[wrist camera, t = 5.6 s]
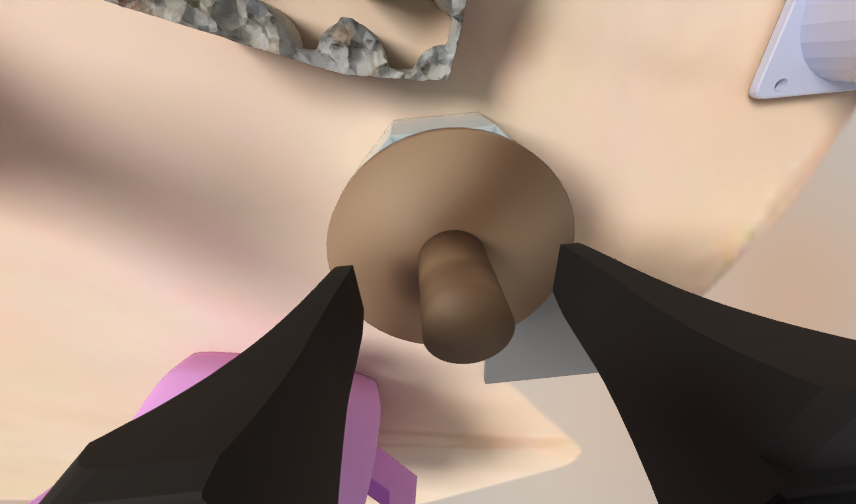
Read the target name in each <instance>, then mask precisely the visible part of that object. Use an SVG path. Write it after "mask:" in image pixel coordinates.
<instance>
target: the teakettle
mask: <svg viewBox="0 0 856 504" xmlns="http://www.w3.org/2000/svg"><path fill="white" fill-rule="evenodd" d="M238 355H239V354H238V353H225V352H198V353H194V354H192V355H191V356H189V357H188V358H186V359H185V360H183V361H182V362H181V363H180V364H178V365H177V366H176V367H174V368H173V369H172V370H171V371H169V372H168V373H167V374H166V375H165V376H164V377H163V378H162V379H161V380H160V382H159V383H158V384H157V386H156V387H155V388H154V389H153V391H152V392H151V393H150V395H149V396H148V398H147V399H146V401H145V402H144V404H143V405H142V406H141V408H140V409H139V411H138V412H137V414H136V415H135V417H134V418H133V420H134V419H136V418H138V417H140V416H141V415H143V414H145V413H147V412H149V411H151V410H153V409H154V408H156V407H158V406H160V405H161V404H163V403H165V402H167V401H168V400H170V399H172V398H173V397H175V396H177V395H178V394H180V393H182V392H183V391H185V390H187V389H188V388H190V387H192V386H193V385H195V384H196V383H198V382H200V381H201V380H203V379H204V378H206V377H207V376H209V375H211V374H212V373H213V372H215V371H216V370H218V369H219V368H221V367H222V366H224V365H225V364H226V363H228V362H229V361H231V360H232V359H234V358H235V357H237V356H238ZM380 419H381V403H380V396H379V392H378V387H377V384H376V382H375V381H374V380H373V379H371V378H370V377H367V376H364V375H361V374H358V373H354V377H353V382H352V386H351V391H350V396H349V402H348V407H347V415H346V424H345V433H344V443H343V453H342V464H341V474H340V487H339V500H338V504H365V502H366V498H367V494H368V495H369V496H370V497H372V498H373V499H374V500H376V501H377V502H378V503H380V504H415V498H416V482H417V476H416V475H414V474H413V473H412V472H411V471H409V470H408V469H407V468H405V467H404V466H403V465H401V464H400V463H399V462H398V461H396V460H395V459H394V458H392V457H391V456H390V455H389V454H387V453H386V452H385V451H383V450H382V449H381V448H379V447H378V446H377V444H378V437H379V429H380ZM52 487H53V486H52ZM52 487H51V488H52ZM51 488H50V489H51ZM50 489H48V490H47V491H45V492H44V493H42V494H41V495H40V496H38V497H37V498H35V499H34V500H33V501H31V502H30V503H28V504H39V502H40V501H41V500H42V499H43V498H44V496H45V495H46V494H47V493H48V492H49V490H50Z"/></svg>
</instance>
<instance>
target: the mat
mask: <svg viewBox="0 0 856 504" xmlns="http://www.w3.org/2000/svg"><path fill="white" fill-rule="evenodd" d="M588 373H598V371H597V369H596V367H595V366H594V364H593V363H592V361H591V359H590V358H589V356H588V355H587V353H586V351H585V350H584V348H583V347H582V345H581V343H580V342H579V340H578V339H577V337H576V336H575V334H574V332H573V331H572V329H571V327H570V326H569V324H568V323H567V321H566V319H565V318H564V316H563V314H562V312H561V310H560V308H559V305H558V303H557V301H556V298H555V296H554V294H553V292H552V293H551V295H550V296H549V297H548V298H547V299H546V301H545V302H544V303H543V304H542V305H541V306H540V307H539V308H538V309H536V310H535V311H534V312H533V313H532V314H531V315H529V316H528V317H527V318H525V319H524V320H522V321H521V322H519V323H518V324H516V325H515V332H514V335H513V337H512V339H511V341H510V342H509V344H508V345H507V346H506V347H505V348H504V349H503V350H502V351H501V352H499V353H498V354H496V355H495V356H493V357H491V358H488V359H486V360H485V370H484V380H485V384H490V383H500V382H509V381H519V380H528V379H539V378H549V377H558V376H568V375H578V374H588Z"/></svg>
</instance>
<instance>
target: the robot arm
mask: <svg viewBox="0 0 856 504" xmlns="http://www.w3.org/2000/svg"><path fill="white" fill-rule="evenodd" d="M777 82H778V84H777V86H776V87H775V85H776V83H777ZM774 87H775V88H774ZM853 90H856V0H786V3H785V5H784V8H783V10H782V12H781V15H780V17H779V20H778V22H777V24H776V27H775V29H774V32H773V34H772V36H771V39H770V41H769V44H768V46H767V48H766V51H765V53H764V56H763V58H762V60H761V63H760V65H759V68H758V70H757V72H756V75H755V77H754V80H753V82H752V84H751V87H750V91H749V93H750V96H751V97H752V98H756V99H769V98H780V97H790V96H801V95H811V94H822V93H832V92H843V91H853ZM552 291H553V294H554V296H555V298H556V301H557V303H558V305H559V308H560V310H561V312H562V314H563V316H564V318H565V319H566V321H567V323H568V324H569V326H570V327H571V329H572V331H573V332H574V334H575V336H576V337H577V339H578V340H579V342H580V343H581V345H582V347H583V348H584V350H585V351H586V353H587V355H588V356H589V358H590V359H591V361H592V363H593V364H594V366H595V367H596V369H597V371H598V372H599V374H600V376H601V378H602V379H603V381H604V383H605V385H606V387H607V389H608V391H609V393H610V395H611V397H612V398H613V401H614V403H615V405H616V407H617V409H618V411H619V413H620V415H621V417H622V420H623V422H624V424H625V426H626V428H627V431H628V432H629V435H630V437H631V439H632V441H633V444H634V446H635V448H636V451H637V453H638V455H639V458H640V460H641V462H642V465H643V467H644V469H645V472H646V474H647V476H648V479H649V481H650V483H651V486H652V489H653V491H654V494H655V496H656V499H657V501H658V504H856V340H853V339H848V338H844V337H839V336H835V335H831V334H827V333H823V332H819V331H815V330H811V329H807V328H802V327H799V326H795V325H791V324H787V323H784V322H780V321H776V320H773V319H769V318H766V317H762V316H759V315H756V314H752V313H749V312H745V311H742V310H739V309H736V308H732V307H729V306H727V305H723V304H720V303H718V302H715V301H712V300H709V299H706V298H704V297H701V296H698V295H695V294H692V293H690V292H687V291H685V290H682V289H680V288H677V287H675V286H672V285H670V284H668V283H665V282H663V281H660V280H658V279H656V278H653V277H651V276H649V275H647V274H645V273H642V272H640V271H638V270H636V269H634V268H632V267H630V266H627V265H625V264H623V263H621V262H619V261H617V260H615V259H613V258H611V257H609V256H607V255H605V254H603V253H601V252H598V251H596V250H594V249H592V248H590V247H588V246H585V245H583V244H580V243H570V244H560V249H559V255H558V261H557V267H556V273H555V278H554V284H553V290H552ZM363 321H364V307H363V303H362V299H361V295H360V291H359V287H358V283H357V279H356V275H355V271H354V267H353V265H347V266H337V267H335V268H334V269H332V270H331V271H330V273H329V274H328V275H327V276H326V277H325V278H324V279H323V280H322V281H321V282H320V283H319V284H318V285H317V286H316V287H315V288H314V289H313V290H312V291H311V292H310V294H309V295H308V296H307V297H306V298H305V299H304V300H303V301H302V302H301V303H300V304H299V305H298V306H297V307H295V308H294V309H293V310H292V311H291V312H290V313H289V314H288V315H287V316H286V317H285V318H284V319H283V320H282V321H280V322H279V323H278V324H277V325H276V326H275V327H274V328H273V329H271V330H270V331H269V332H268V333H267V334H265V335H264V336H263V337H262V338H260V339H259V340H258V341H257V342H255V343H254V344H253V345H252V346H250V347H249V348H248V349H246V350H245V351H244V352H242V353H241V354H239V355H238V356H237V357H235V358H234V359H232V360H231V361H229V362H228V363H226V364H225V365H224V366H222V367H221V368H219V369H218V370H216V371H215V372H213V373H212V374H211V375H209V376H207V377H206V378H204V379H203V380H201V381H200V382H198V383H196V384H195V385H193V386H192V387H190V388H188V389H187V390H185V391H183V392H182V393H180V394H178V395H177V396H175V397H173V398H172V399H170V400H168V401H167V402H165V403H163V404H161V405H160V406H158V407H156V408H154V409H153V410H151V411H149V412H147V413H145V414H143V415H141V416H140V417H138V418H136V419H134V420H132V421H130V422H128V423H126V424H125V425H123V426H121V427H119V428H117V429H115V430H113V431H111V432H110V433H108V434H106V435H104V436H102V437H100V438H98V439H96V440H94V441H92V442H90V443H89V444H88V445H87V446H86V447H85V449H84V450H83V451H82V452H81V453H80V455H79V456H78V457H77V458H76V459H75V461H74V462H73V463H72V464H71V465H70V467H69V468H68V469H67V470H66V471H65V473H64V474H63V475H62V476H61V477H60V479H59V480H58V481H57V482H56V483H55V485H54V486H53V487H52V488H51V489H50V490H49V492H48V493H47V494H46V495H45V496H44V498H43V499H42V500H41V501H40V502H39V504H338V500H339V487H340V474H341V464H342V453H343V443H344V433H345V424H346V415H347V407H348V402H349V396H350V391H351V386H352V382H353V377H354V372H355V368H356V363H357V358H358V354H359V349H360V344H361V339H362V333H363Z"/></svg>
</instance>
